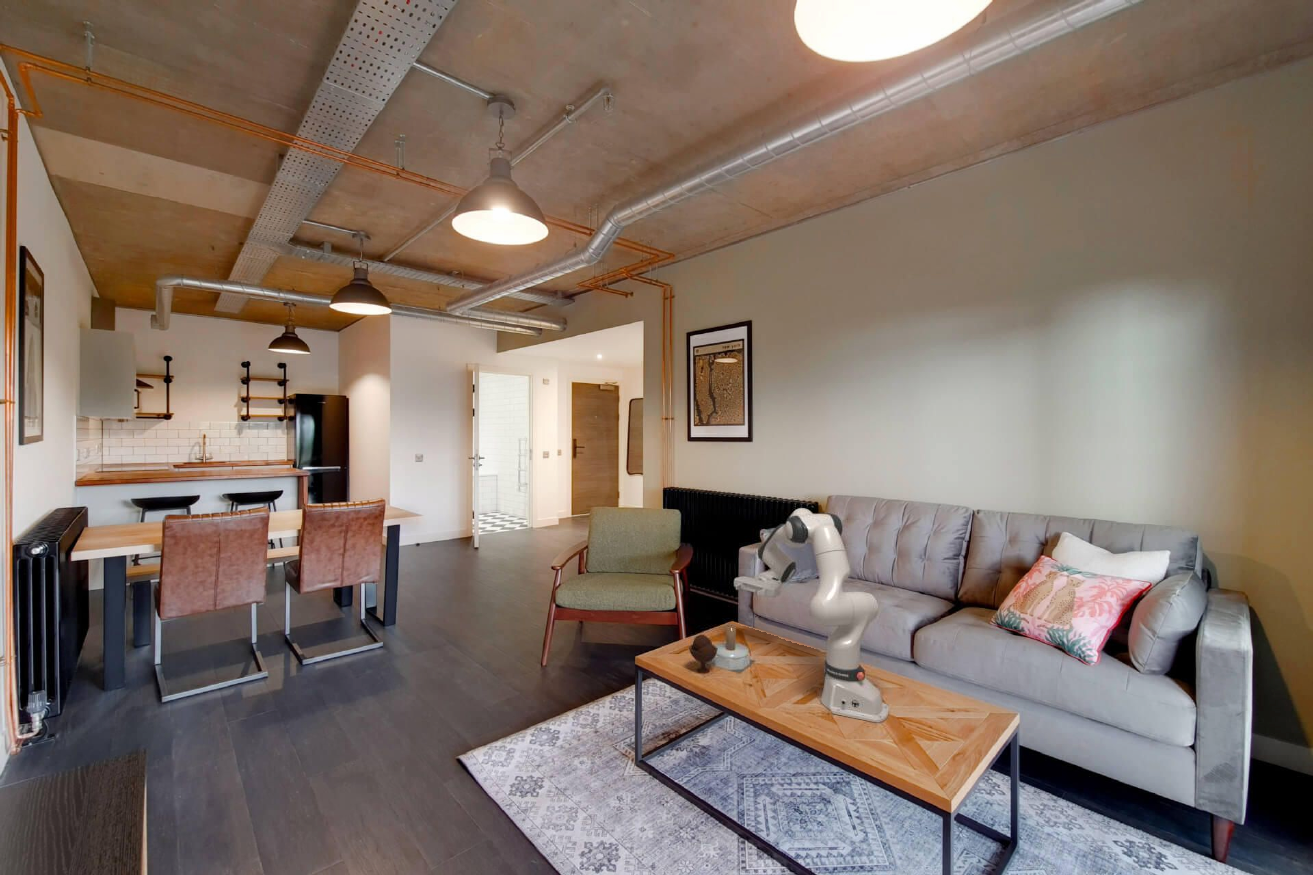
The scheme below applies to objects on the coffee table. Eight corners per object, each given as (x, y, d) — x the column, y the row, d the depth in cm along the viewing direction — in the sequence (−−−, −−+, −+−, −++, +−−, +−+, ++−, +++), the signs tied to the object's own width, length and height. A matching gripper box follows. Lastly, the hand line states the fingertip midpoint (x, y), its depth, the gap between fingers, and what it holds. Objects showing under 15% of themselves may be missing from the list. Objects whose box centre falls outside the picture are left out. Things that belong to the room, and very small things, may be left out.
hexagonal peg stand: (754, 660, 232) (754, 625, 232) (738, 672, 220) (739, 636, 220) (722, 652, 240) (723, 618, 240) (705, 663, 228) (706, 628, 228)
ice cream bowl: (718, 678, 216) (719, 639, 216) (689, 677, 216) (690, 638, 216) (715, 666, 227) (716, 629, 226) (688, 665, 227) (689, 629, 227)
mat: (755, 661, 232) (755, 660, 232) (740, 674, 220) (740, 673, 220) (721, 652, 241) (721, 651, 241) (704, 664, 228) (704, 663, 228)
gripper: (743, 571, 255) (726, 577, 244) (784, 581, 241) (768, 589, 231) (743, 584, 255) (726, 592, 245) (783, 595, 242) (767, 604, 231)
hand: (746, 590), depth 238 cm, fingers open, 8 cm apart
